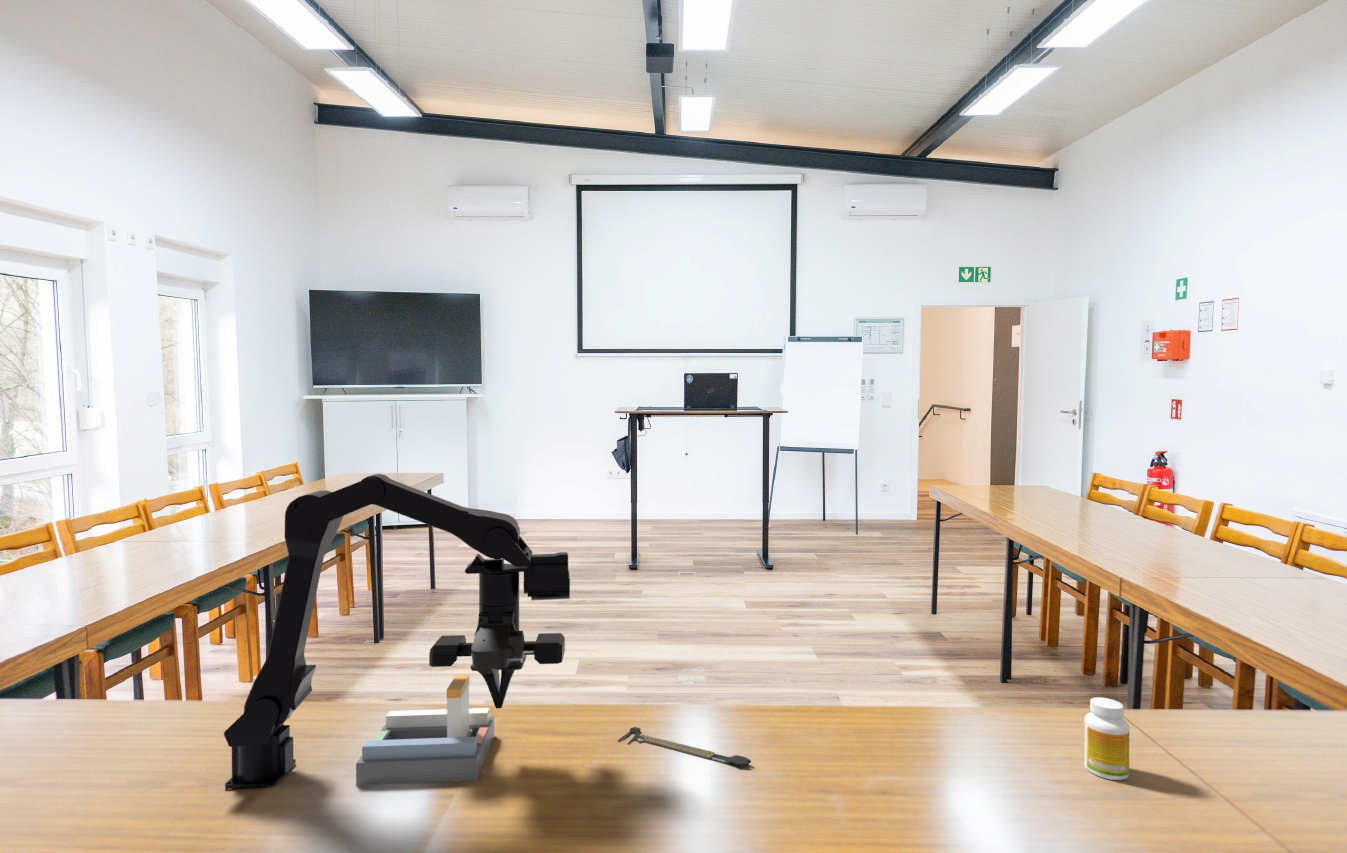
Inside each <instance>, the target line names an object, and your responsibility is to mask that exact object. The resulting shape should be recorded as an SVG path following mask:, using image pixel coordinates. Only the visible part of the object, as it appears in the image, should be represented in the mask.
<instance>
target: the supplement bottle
mask: <svg viewBox="0 0 1347 853" xmlns="http://www.w3.org/2000/svg"><path fill="white" fill-rule="evenodd" d="M1089 702H1090V703H1089V704H1090V705H1089V709H1090V711H1091V712H1088V713H1087V714H1086V715H1085V717H1084V722H1083V723H1084V725H1083V726H1084V727H1083V729H1084V730H1083V731H1084V732H1083V733H1084V734H1083V735H1084V736H1083V765H1084V767H1085V769H1086V770H1087V771H1089V772H1090V773H1091V774H1093V775H1094V776H1098V777H1099V778H1103V779H1107V780H1112V781H1123V780H1126V779H1128V778H1129V776H1130V725H1129V723H1128V721H1127V720H1125V718H1123V717H1124V716H1125V715H1124V714H1125V710H1124V709H1125V708H1124V704H1123V703H1121V702H1119V701H1117V700H1115V699H1111V698H1107V697H1102V696H1101V697H1100V696H1099V697H1091V699H1090V701H1089Z"/></svg>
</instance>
